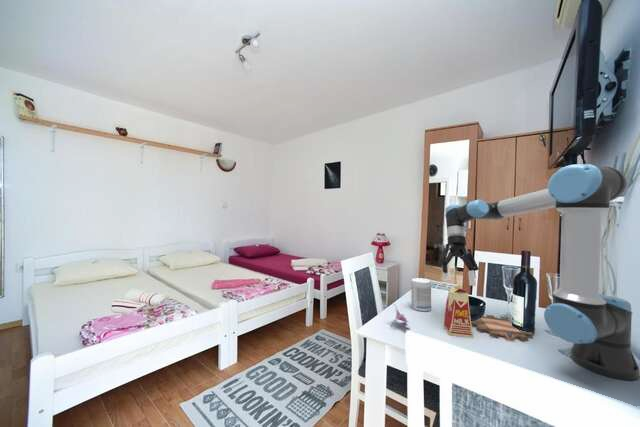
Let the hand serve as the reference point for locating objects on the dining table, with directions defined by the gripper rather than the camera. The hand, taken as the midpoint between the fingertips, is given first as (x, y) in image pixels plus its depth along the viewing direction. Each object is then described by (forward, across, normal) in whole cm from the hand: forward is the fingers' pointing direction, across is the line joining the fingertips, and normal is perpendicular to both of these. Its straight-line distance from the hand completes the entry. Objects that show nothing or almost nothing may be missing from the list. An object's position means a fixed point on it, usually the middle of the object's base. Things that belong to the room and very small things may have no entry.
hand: (460, 283), depth 112 cm
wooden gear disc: (+16, -18, 0) cm, 25 cm away
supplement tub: (+11, -1, -27) cm, 29 cm away
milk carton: (+20, +1, -3) cm, 20 cm away
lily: (+21, +21, -14) cm, 32 cm away
